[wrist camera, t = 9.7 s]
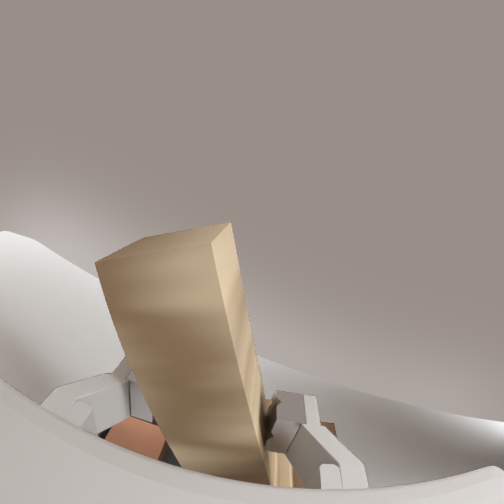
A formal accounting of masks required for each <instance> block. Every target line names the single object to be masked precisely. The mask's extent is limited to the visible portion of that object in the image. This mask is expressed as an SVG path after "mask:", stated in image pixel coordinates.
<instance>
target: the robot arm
mask: <svg viewBox="0 0 504 504" xmlns="http://www.w3.org/2000/svg"><path fill="white" fill-rule="evenodd" d="M130 415H131V416H134V417H137V418H140V419H143V420H146V421H149V422H153V420H154V417H153V415H152V413H151V411H150V409H149V407H148V404H147V402H146V400H145V398H144V396H143V394H142V392H141V390H140V387H139V385H138V383H137V381H136V379H135V376H134V374H133V372H132V369H131V367H130V365H129V362H128V360H127V357H126V356H125V358H124V359H123V360H122V361H121V363H120V364H119V365H118V367H117V368H116V369H115V370H114V372H113V373H112V374H111V373H105V374H102V375H98V376H95V377H92V378H88V379H85V380H81V381H77V382H74V383H70V384H66V385H63V386H59V387H56V388H55V389H54V390H53V391H52V392H51V394H50V395H49V396H48V397H47V398H46V399H45V400H44V401H43V402H42V403H41V404H40V405H38V404H37V403H35V402H34V401H32V400H30V399H29V398H27V397H26V396H24V395H23V394H21V393H20V392H18V391H17V390H16V389H14V388H13V387H11V386H10V385H9V384H7V383H6V382H4V381H3V380H2V379H0V504H504V470H502V469H501V468H498V467H496V466H487V467H484V468H480V469H477V470H474V471H470V472H467V473H463V474H459V475H455V476H451V477H446V478H442V479H437V480H432V481H426V482H420V483H414V484H407V485H399V486H390V487H379V488H369V485H368V481H367V476H366V472H365V468H364V464H363V463H362V462H361V461H360V460H359V459H358V458H357V457H356V456H355V455H354V454H352V453H351V452H350V451H349V450H348V449H347V448H346V447H345V446H344V445H343V444H342V443H341V442H340V441H339V440H338V439H337V438H336V437H335V436H334V435H333V434H332V433H331V432H330V431H329V430H328V429H327V428H326V427H325V426H321V423H320V416H319V410H318V404H317V398H316V396H314V395H306V394H297V393H291V392H284V391H279V390H275V392H274V394H273V397H272V404H271V405H269V407H268V410H267V413H266V418H265V429H266V432H265V436H264V450H265V451H270V452H276V453H283V454H285V455H286V457H287V459H288V460H289V462H290V463H291V465H292V466H293V468H294V469H295V471H296V472H297V474H298V475H299V477H300V478H301V480H302V481H303V483H304V484H305V486H304V487H303V488H293V487H281V486H272V485H264V484H257V483H250V482H244V481H238V480H232V479H227V478H222V477H218V476H213V475H209V474H204V473H200V472H196V471H192V470H189V469H185V468H181V467H178V466H175V465H171V464H168V463H165V462H162V461H159V460H156V459H153V458H150V457H147V456H144V455H141V454H139V453H136V452H133V451H131V450H128V449H126V448H123V447H121V446H118V445H116V444H113V443H111V442H109V441H107V440H104V439H102V438H100V437H98V433H100V432H102V431H104V430H106V429H108V428H110V427H112V426H114V425H115V424H117V423H119V422H121V421H123V420H125V419H127V418H129V417H130Z"/></svg>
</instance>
